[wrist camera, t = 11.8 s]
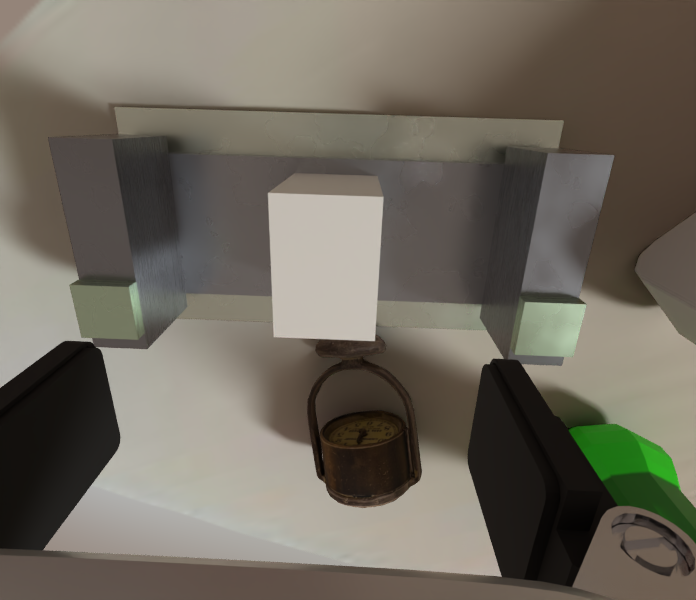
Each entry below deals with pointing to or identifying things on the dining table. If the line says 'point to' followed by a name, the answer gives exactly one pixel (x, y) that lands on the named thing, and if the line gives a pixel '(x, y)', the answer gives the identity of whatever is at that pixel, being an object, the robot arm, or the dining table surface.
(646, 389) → the dining table surface
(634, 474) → the plastic bottle
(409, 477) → the brown antique clock
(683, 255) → the rounded white slab
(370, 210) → the block
